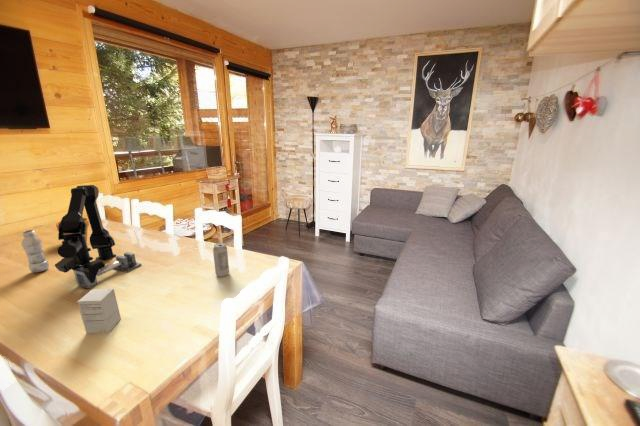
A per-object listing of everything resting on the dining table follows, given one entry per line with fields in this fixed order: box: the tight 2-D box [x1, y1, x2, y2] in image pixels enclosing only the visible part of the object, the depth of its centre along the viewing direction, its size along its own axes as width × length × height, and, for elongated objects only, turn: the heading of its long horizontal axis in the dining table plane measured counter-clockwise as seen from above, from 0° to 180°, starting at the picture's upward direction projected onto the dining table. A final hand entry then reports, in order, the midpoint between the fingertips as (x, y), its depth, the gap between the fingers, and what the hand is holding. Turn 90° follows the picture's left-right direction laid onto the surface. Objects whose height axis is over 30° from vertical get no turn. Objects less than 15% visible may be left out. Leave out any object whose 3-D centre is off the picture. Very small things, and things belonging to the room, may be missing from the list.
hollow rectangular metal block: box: [73, 266, 98, 289], centre depth 121 cm, size 6×4×8 cm, turn 70°
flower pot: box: [55, 217, 90, 242], centre depth 165 cm, size 14×14×13 cm
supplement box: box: [77, 288, 122, 334], centre depth 96 cm, size 7×7×13 cm
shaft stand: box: [96, 252, 142, 277], centre depth 133 cm, size 10×17×6 cm, turn 160°
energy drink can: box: [212, 242, 230, 278], centre depth 130 cm, size 6×6×15 cm
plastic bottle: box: [21, 229, 50, 274], centre depth 131 cm, size 6×7×20 cm
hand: (87, 281), depth 122 cm, fingers closed on hollow rectangular metal block, 6 cm apart
